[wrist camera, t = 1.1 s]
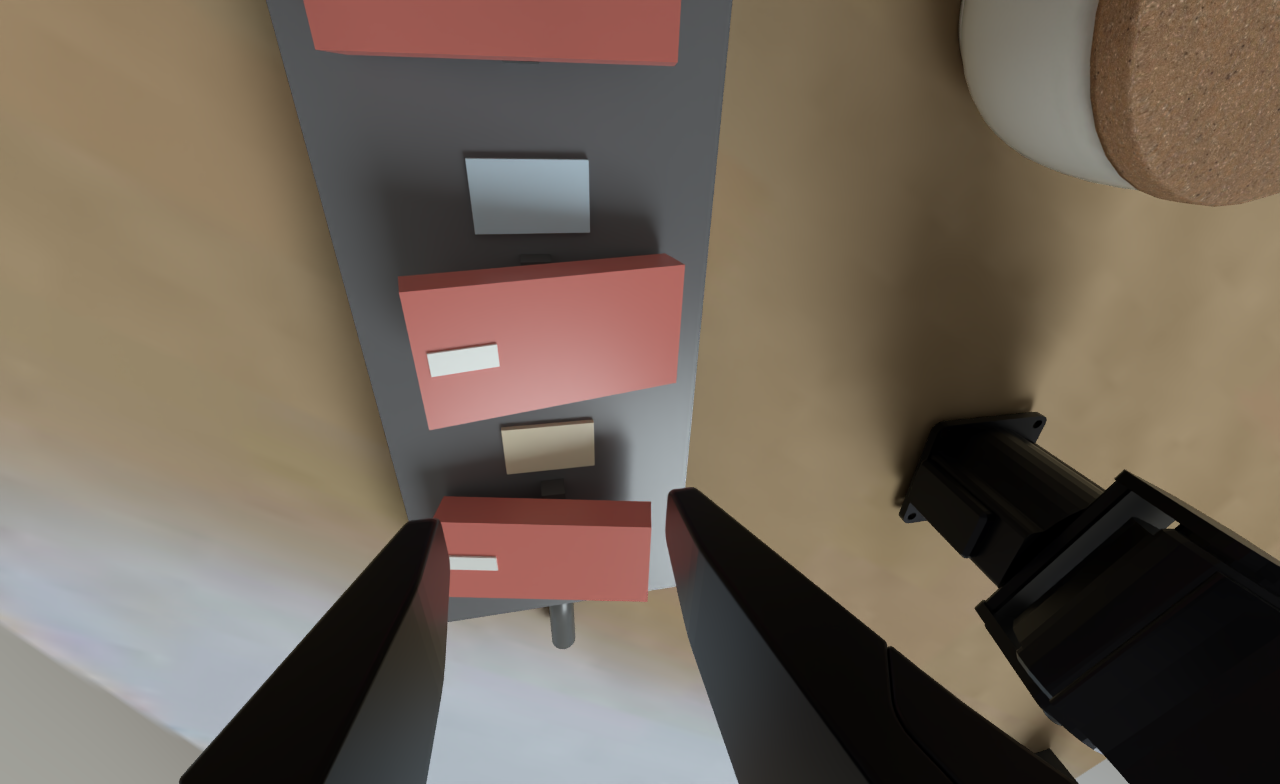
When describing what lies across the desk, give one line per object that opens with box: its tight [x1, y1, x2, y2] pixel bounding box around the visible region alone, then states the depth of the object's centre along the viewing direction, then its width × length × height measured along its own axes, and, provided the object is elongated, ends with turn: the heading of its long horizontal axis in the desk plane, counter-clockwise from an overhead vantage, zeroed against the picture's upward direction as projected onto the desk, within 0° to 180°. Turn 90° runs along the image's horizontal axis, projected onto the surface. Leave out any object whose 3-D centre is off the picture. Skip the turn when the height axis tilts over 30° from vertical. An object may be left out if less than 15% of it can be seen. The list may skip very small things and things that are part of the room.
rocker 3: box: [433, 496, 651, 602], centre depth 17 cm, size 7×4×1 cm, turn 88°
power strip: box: [266, 0, 732, 649], centre depth 17 cm, size 10×32×4 cm, turn 178°
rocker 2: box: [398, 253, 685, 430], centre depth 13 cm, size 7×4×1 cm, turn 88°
